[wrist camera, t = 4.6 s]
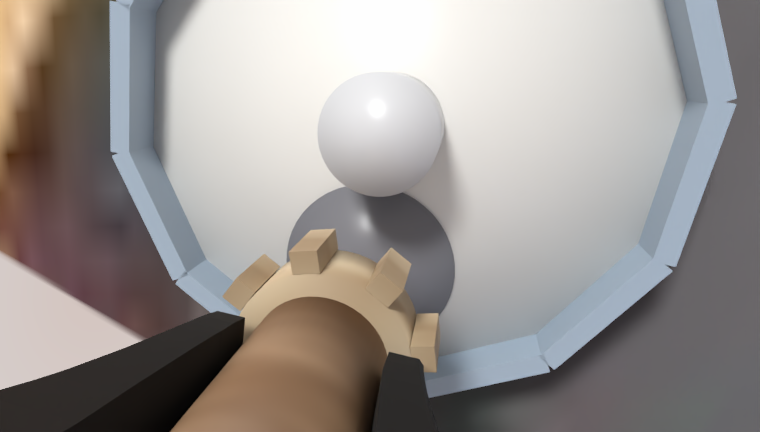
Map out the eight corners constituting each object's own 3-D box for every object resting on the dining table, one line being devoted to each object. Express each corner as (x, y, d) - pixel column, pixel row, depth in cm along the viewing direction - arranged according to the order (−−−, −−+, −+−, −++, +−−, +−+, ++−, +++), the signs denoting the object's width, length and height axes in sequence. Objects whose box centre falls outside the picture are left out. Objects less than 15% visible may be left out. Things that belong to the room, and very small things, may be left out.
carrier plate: (842, 83, 13) (972, 87, 10) (426, 445, 18) (416, 527, 15) (354, -364, 12) (310, -528, 9) (67, 151, 18) (-27, 169, 14)
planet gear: (484, 324, 11) (500, 572, 6) (354, 447, 13) (267, 738, 7) (316, 185, 11) (160, 301, 5) (205, 328, 13) (-5, 533, 7)
